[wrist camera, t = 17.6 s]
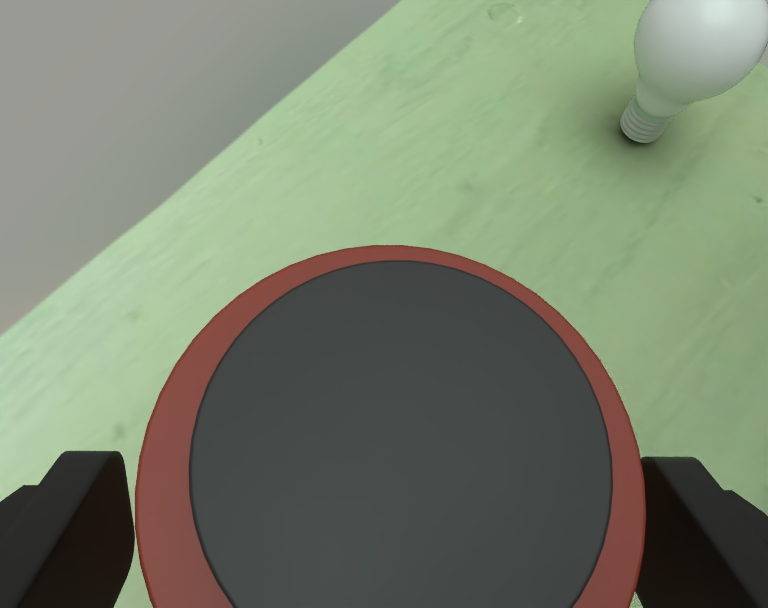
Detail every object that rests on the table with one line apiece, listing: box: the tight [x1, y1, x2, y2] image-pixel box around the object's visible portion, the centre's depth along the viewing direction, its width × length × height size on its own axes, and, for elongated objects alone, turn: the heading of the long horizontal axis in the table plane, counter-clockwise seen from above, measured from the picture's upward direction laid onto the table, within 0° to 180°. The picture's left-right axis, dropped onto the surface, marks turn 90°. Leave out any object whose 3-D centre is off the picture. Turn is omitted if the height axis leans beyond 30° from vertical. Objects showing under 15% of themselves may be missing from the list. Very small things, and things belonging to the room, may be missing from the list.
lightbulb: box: [620, 0, 768, 143], centre depth 35 cm, size 6×6×11 cm
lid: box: [135, 245, 646, 608], centre depth 11 cm, size 6×6×10 cm
